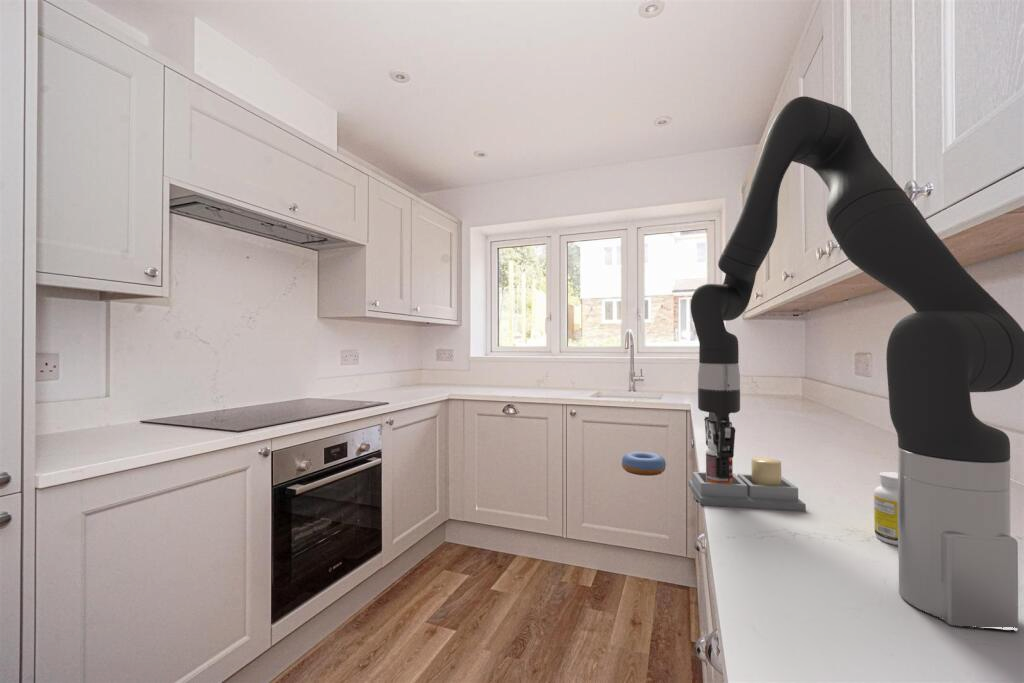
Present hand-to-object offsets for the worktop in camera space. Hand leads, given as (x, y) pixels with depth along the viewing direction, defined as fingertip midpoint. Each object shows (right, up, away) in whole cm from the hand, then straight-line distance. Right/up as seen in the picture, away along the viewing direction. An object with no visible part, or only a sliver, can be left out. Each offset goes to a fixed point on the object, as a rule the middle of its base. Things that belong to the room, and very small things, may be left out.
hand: (718, 473), depth 91 cm
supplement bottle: (+18, -4, -21) cm, 28 cm away
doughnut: (-10, -5, +18) cm, 21 cm away
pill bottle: (0, -2, 0) cm, 2 cm away
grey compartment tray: (+4, -4, -1) cm, 6 cm away
